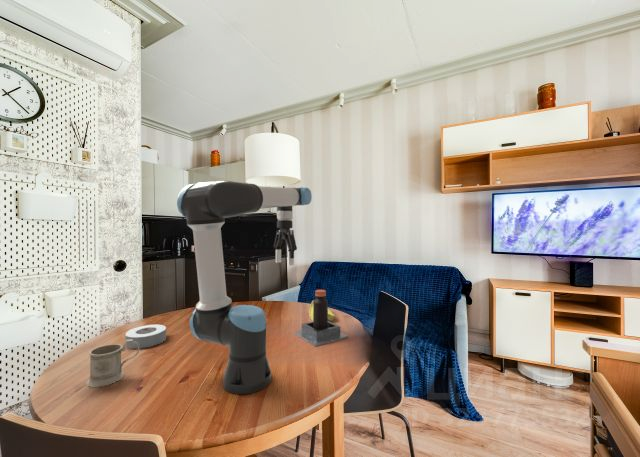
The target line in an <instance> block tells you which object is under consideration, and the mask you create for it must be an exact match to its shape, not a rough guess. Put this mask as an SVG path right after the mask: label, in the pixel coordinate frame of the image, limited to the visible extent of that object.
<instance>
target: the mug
mask: <svg viewBox="0 0 640 457" xmlns="http://www.w3.org/2000/svg"><path fill="white" fill-rule="evenodd" d="M132 340H133V339H128V340H126V341H127V342H126V343H125V342H124V343H123V345H122V344H118V343H114V344H113V343H111V344H106V345H102V346H97V347H96V348H94V349H93V348H92V350H91V351H89V358H90V362H89V364H90V365H89V369H90V370H89V379H88V380H87V381H86V383H85V384H87V385H86V387H88V386H90V387H89V388H100V386H102V387H106V386H110V385H112V383H113V384H114V383H117V382H119V381H120V380H122V379H124V377H125V372H123V370H122V369H123V366H124V365H125V363H126V362H128V361H129V360H131V359H133V358H136V356H137V355H138V354H139V353H140V350H141V348H140V347H139V344H138V343H137V342H135V341H132ZM130 342H132V343H135V344H137V346H138V349H137V351H136V353H135V354H133V356H130V357H128V358H126V359H125V360H123V361H122V352H125V351H126V349H127V347H126V346H125V345H126V344H127V343H130ZM116 381H117V382H116ZM109 384H110V385H109ZM105 385H106V386H105Z"/></svg>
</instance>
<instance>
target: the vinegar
mask: <svg viewBox="0 0 640 457" xmlns="http://www.w3.org/2000/svg"><path fill="white" fill-rule="evenodd" d="M314 292H315V299H313V300H314V302H313V321H312V322H313V328H314V329H316V330H322V329H326V328H328V321H329V320H328V309H329V308H328V307H329V305H328V304H329V303H328V302H329V301H328V300H327V299H326V296H327V294H326V293H327V291H326V290H325V289H316V290H315V291H314Z"/></svg>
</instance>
